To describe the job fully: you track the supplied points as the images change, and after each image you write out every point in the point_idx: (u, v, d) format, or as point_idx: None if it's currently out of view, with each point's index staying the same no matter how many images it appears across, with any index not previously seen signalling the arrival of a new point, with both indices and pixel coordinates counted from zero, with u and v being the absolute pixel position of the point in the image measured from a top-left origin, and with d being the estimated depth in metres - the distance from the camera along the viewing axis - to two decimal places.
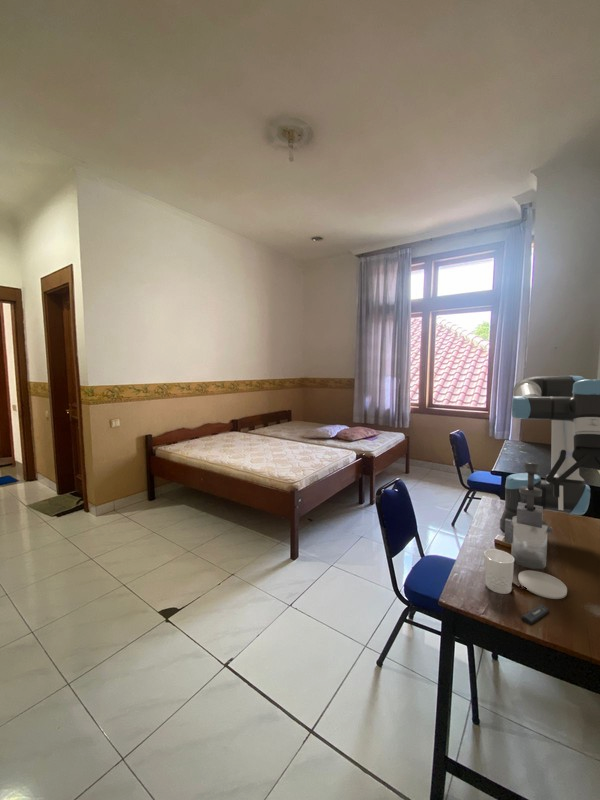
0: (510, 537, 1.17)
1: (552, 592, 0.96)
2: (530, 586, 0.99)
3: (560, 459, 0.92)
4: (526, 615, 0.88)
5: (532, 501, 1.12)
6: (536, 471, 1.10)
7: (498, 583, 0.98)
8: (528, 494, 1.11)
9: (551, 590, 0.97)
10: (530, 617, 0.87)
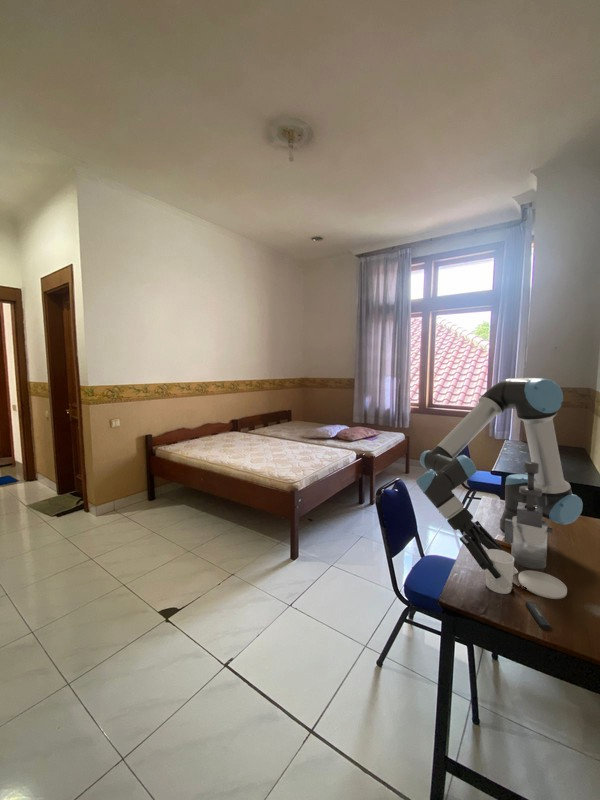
0: (510, 537, 1.17)
1: (552, 592, 0.96)
2: (530, 586, 0.99)
3: None
4: (542, 621, 0.85)
5: (532, 501, 1.12)
6: (536, 471, 1.10)
7: (498, 583, 0.98)
8: (528, 494, 1.11)
9: (551, 590, 0.97)
10: (545, 621, 0.85)
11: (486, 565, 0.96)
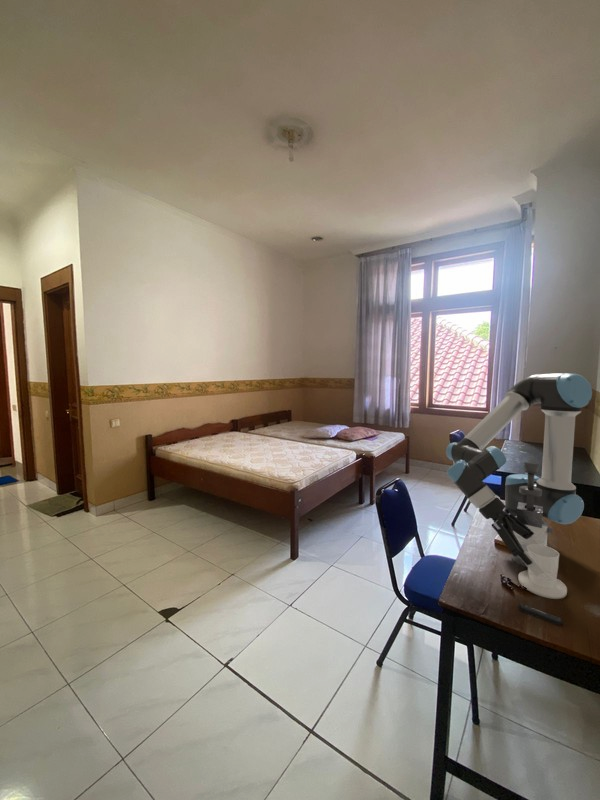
0: None
1: (552, 592, 0.96)
2: (530, 586, 0.99)
3: None
4: (556, 618, 0.86)
5: (532, 501, 1.12)
6: (536, 471, 1.10)
7: (543, 578, 0.98)
8: (528, 494, 1.11)
9: (551, 590, 0.97)
10: (555, 616, 0.87)
11: (517, 551, 0.96)
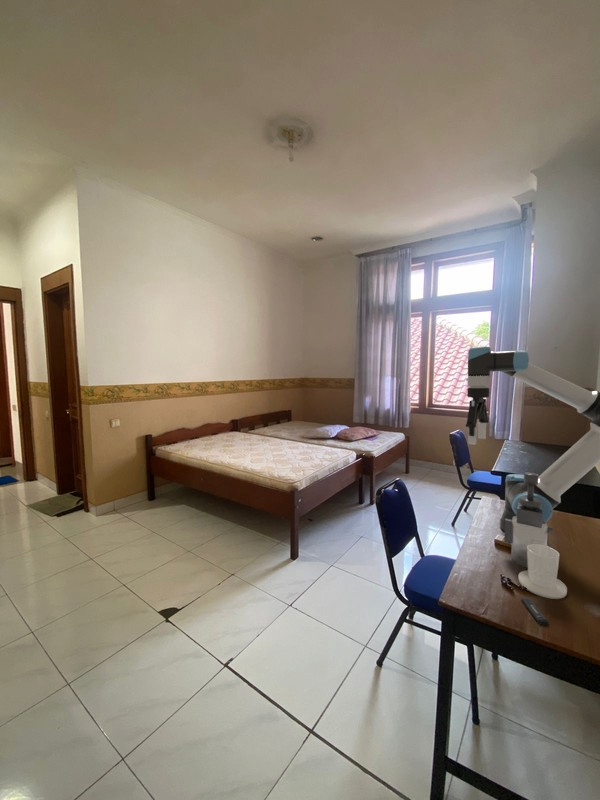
0: (510, 537, 1.17)
1: (552, 592, 0.96)
2: (530, 586, 0.99)
3: None
4: (529, 599, 0.94)
5: None
6: (536, 482, 1.11)
7: (543, 578, 0.98)
8: (528, 505, 1.11)
9: (551, 590, 0.97)
10: (526, 600, 0.93)
11: (472, 424, 1.21)
